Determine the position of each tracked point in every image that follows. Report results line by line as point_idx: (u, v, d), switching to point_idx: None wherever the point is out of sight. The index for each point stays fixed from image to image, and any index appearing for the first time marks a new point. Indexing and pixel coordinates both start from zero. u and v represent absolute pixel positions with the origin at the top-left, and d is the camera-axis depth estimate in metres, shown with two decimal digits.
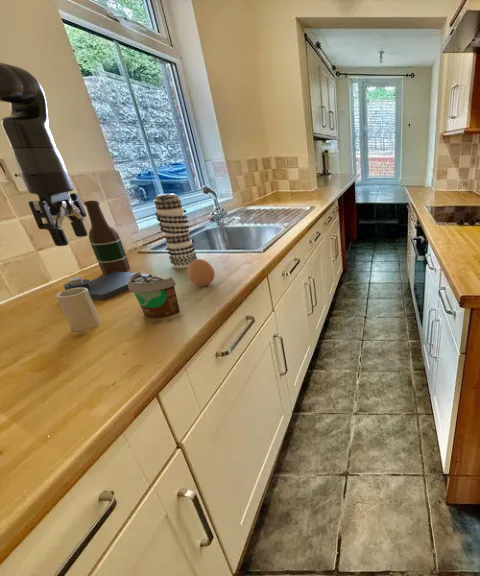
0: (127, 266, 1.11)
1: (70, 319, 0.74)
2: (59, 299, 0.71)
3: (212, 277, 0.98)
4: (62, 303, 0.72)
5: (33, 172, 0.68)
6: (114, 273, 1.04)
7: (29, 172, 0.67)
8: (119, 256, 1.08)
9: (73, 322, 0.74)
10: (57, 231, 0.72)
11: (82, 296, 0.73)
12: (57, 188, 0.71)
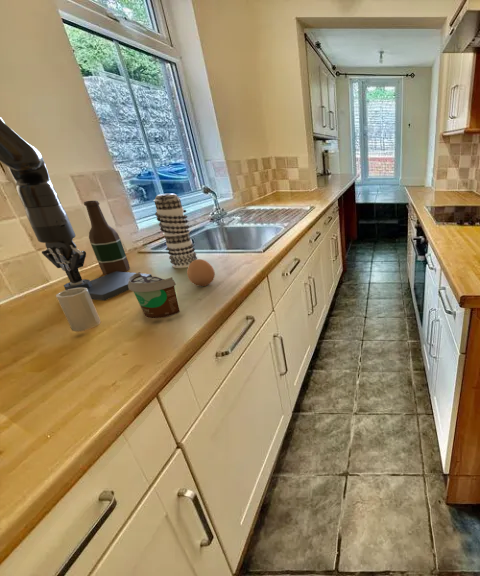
0: (127, 266, 1.11)
1: (70, 319, 0.74)
2: (59, 299, 0.71)
3: (212, 277, 0.98)
4: (62, 303, 0.72)
5: (62, 223, 0.85)
6: (114, 273, 1.04)
7: (59, 224, 0.84)
8: (119, 256, 1.08)
9: (73, 322, 0.74)
10: None
11: (82, 296, 0.73)
12: (74, 234, 0.89)
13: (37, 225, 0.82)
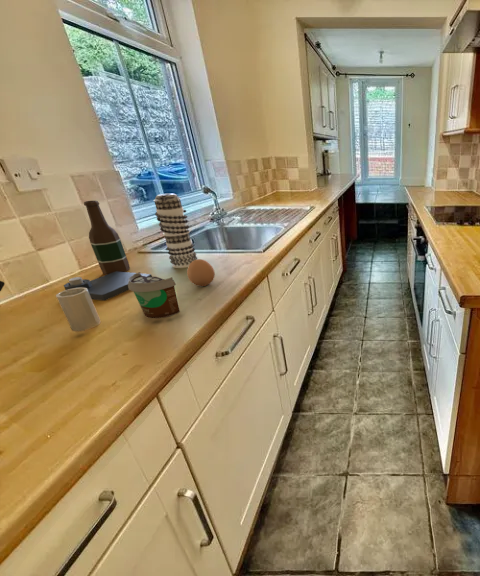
0: (127, 266, 1.11)
1: (70, 319, 0.74)
2: (59, 299, 0.71)
3: (212, 277, 0.98)
4: (62, 303, 0.72)
5: None
6: (114, 273, 1.04)
7: None
8: (119, 256, 1.08)
9: (73, 322, 0.74)
10: None
11: (82, 296, 0.73)
12: None
13: None
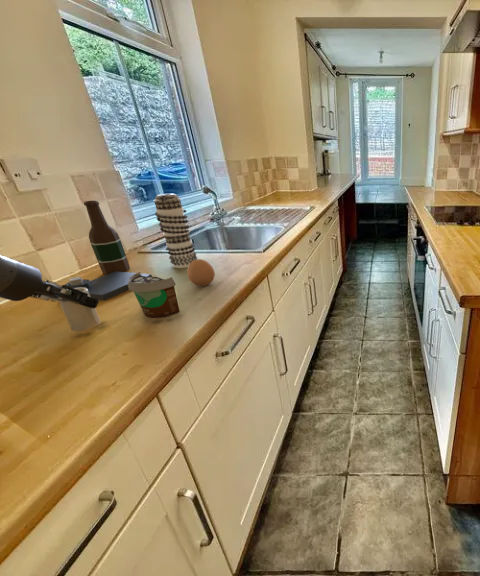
0: (127, 266, 1.11)
1: (70, 319, 0.74)
2: None
3: (212, 277, 0.98)
4: (62, 303, 0.72)
5: None
6: (114, 273, 1.04)
7: None
8: (119, 256, 1.08)
9: (73, 322, 0.74)
10: None
11: None
12: None
13: None
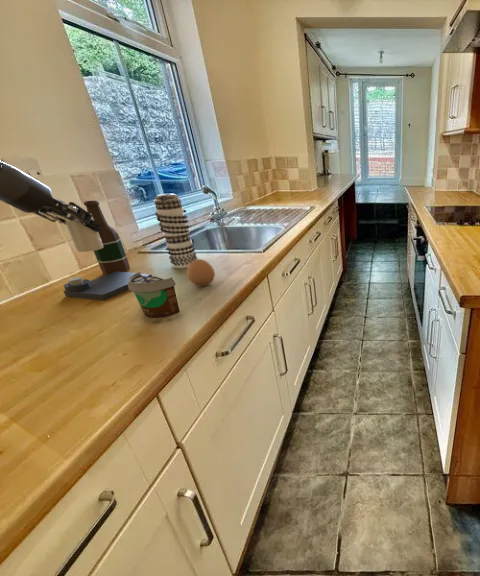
0: (127, 266, 1.11)
1: (76, 239, 0.82)
2: None
3: (212, 277, 0.98)
4: (69, 223, 0.80)
5: None
6: (114, 273, 1.04)
7: None
8: (119, 256, 1.08)
9: (78, 243, 0.82)
10: (64, 222, 0.82)
11: None
12: None
13: None
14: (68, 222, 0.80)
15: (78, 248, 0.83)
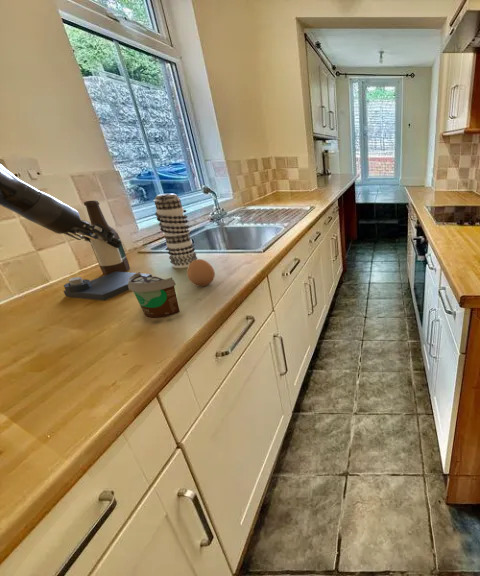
0: (127, 266, 1.11)
1: (99, 255, 0.92)
2: None
3: (212, 277, 0.98)
4: (93, 241, 0.90)
5: None
6: (114, 273, 1.04)
7: None
8: None
9: (101, 258, 0.92)
10: (88, 240, 0.92)
11: None
12: None
13: None
14: (93, 240, 0.90)
15: (101, 263, 0.93)
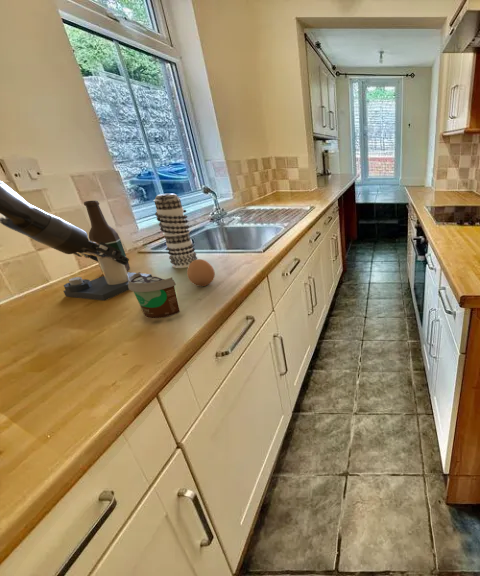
0: (127, 266, 1.11)
1: (107, 274, 0.94)
2: (99, 258, 0.92)
3: (212, 277, 0.98)
4: (101, 261, 0.92)
5: None
6: None
7: None
8: None
9: (109, 277, 0.94)
10: None
11: None
12: None
13: None
14: (100, 260, 0.92)
15: (108, 281, 0.95)
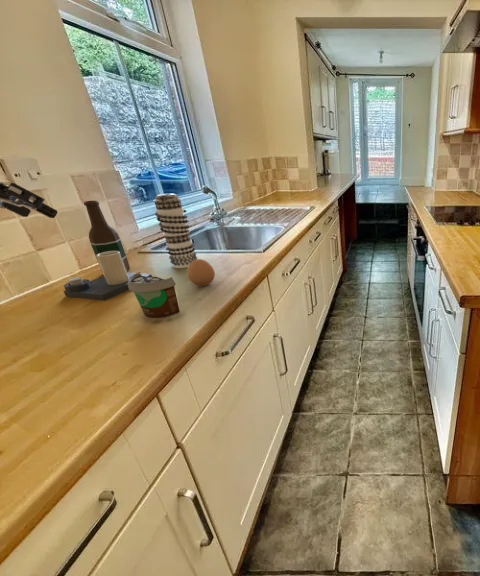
0: (127, 266, 1.11)
1: (107, 274, 0.94)
2: (99, 258, 0.92)
3: (212, 277, 0.98)
4: (101, 261, 0.92)
5: None
6: None
7: None
8: None
9: (109, 277, 0.94)
10: (6, 207, 0.76)
11: (116, 256, 0.94)
12: None
13: None
14: (100, 260, 0.92)
15: (108, 281, 0.95)
